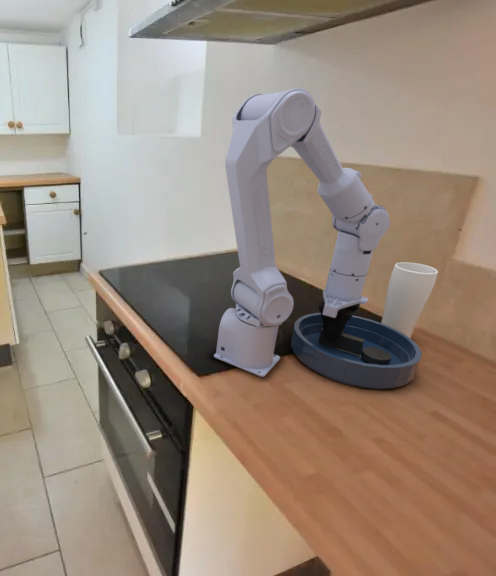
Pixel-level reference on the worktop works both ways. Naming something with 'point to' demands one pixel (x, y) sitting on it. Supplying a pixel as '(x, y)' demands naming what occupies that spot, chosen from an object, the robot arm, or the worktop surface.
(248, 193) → the robot arm
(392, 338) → the bowl
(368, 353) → the ladle
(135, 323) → the worktop surface
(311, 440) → the worktop surface
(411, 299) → the drinking glass
